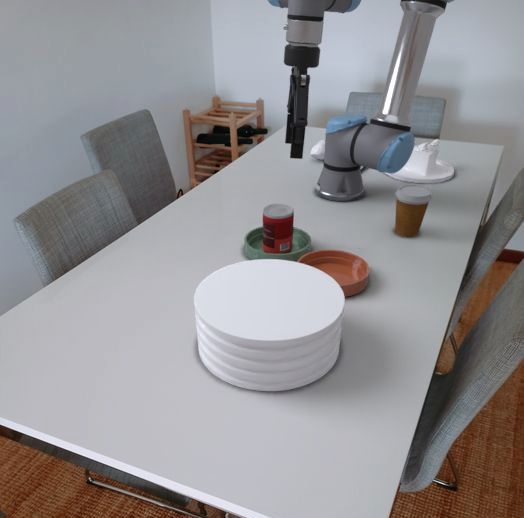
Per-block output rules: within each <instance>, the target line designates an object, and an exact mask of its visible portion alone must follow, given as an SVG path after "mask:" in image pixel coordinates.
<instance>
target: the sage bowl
mask: <svg viewBox="0 0 524 518" xmlns="http://www.w3.org/2000/svg"><path fill="white" fill-rule="evenodd" d="M243 239H244V241H243V242H244V254H245V256H246V257H247V258H248V259H250V260H259V259H278V260H287V261H293V262H297V261H298V259H299V258H300V257H301V256H303V255H305V254H307V253H310V252H312V238H311V236H310V234H309V233H308V232H307V231H305V230H303V229H301V228H300V227H299V228H298V227H296V226H293V243H292V250H291V252H290V253H286V254H272V253H265V252H264V250H263V225H262V226H259V227H255V228H253V229H251V230H249V231H248V232H247V233H246V234H245V235H244V237H243Z"/></svg>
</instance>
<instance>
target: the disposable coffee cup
mask: <svg viewBox="0 0 524 518" xmlns="http://www.w3.org/2000/svg"><path fill="white" fill-rule="evenodd" d="M395 198H396V202H395V203H396V204H395V223H394V224H395V226H394V233H395V234H396V235H398V236H400V237H404V238H414V237H417V236H418V234H419V232H420V229H421V227H422V223H423V221H424V218H425V215H426V212H427V209H428V206H429V203H430V202H431V200H432V198H433V195H432V190H431V189H430V188H428V187H427V186H424V185H420V184H412V183H411V184H403V185H400V186H398V188H397V190H396V191H395Z"/></svg>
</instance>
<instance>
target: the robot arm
mask: <svg viewBox="0 0 524 518" xmlns="http://www.w3.org/2000/svg"><path fill="white" fill-rule="evenodd" d="M454 1H455V0H400V2H399V6H400V9H401V10H402V13H403V14H402V18H401V22H400V25H399V29H398V32H397V33H398V34H397V36H396V37H397V38H396V40H395V45H394V49H393V53H392V55H391V56H392V57H391V60H390V65H389V68H388V72H387V76H386V80H385V83H384V87H383V88H384V89H383V92H382V94H381V99H380V103H379V108H378V111H377V112H376V113H375V114H373V115H372V116H370V120H369V123H367V122H368V117H367V116H366V115H364V114H355V113H353V114H351V113H350V114H342V115H336V116H333V117H331V118H330V119H328V121H327V123H326V129H325V134H324V135H325V139H324V140H325V152H324V159H323V166H322V169H321V172H320V175H319V176H318V177H319V178H318V180H317V182H316V184H315V193H316V195H318V197H320V198H323V199H325V200H329V201H333V202H352V201H356V200H358V199H360V198H362V197H363V196H364V190H365V187H364V182H363V176H362V172H363V171H364V170H365V169H371V170H375V171H378V172H379V173H384V172H386V173H391V174H392V173H396V172H398V171H400V170H401V169H402V168H403V167H404V166H405V164H406V163H407V162H408V160H409V158H410V156H411V154H412V151H413V148H414V146H415V141H416V140H415V135H414V134H413V133H412V132H411V129H412V123H411V122H410V120H409V116H410V113H411V110H412V106H413V103H414V99H415V96H416V93H417V89H418V85H419V82H420V77H421V74H422V71H423V68H424V64H425V60H426V57H427V53H428V51H429V47H430V46H429V45H430V43H431V39H432V35H433V32H434V28H435V25H436V22H437V19H438V18H439V17H441V16H442V15H443V14H445V11H446V8H447V5H448V4H449V3H452V2H454ZM267 2H268V3H269V5H271V6H273V7H277V8H280V9H287V15H286V23H287V24H286V23H285V24H284V25H283V30H284V31H286V32H285V41H286V42H288V43H287V44H285V46H284V51H283V52H284V54H283V64H284V65H285V66H288V67H291V69H290V72H291V74H290V75H289V91H288V97H287V104H286V109H287V113H286V128H285V130H286V131H285V140H284V144H287V145H288V144H290V152H289V159H297V160H298V159H299V160H303V158H304V147H305V137H306V128H307V126H308V124H309V122H308V118H309V117H308V116H309V115H308V114H309V95H310V94H309V92H310V83H311V75H310V74H308V70H309V69H315V68H318V67H319V65H320V58H321V47H319V45H321V44H322V42H323V31H324V24H325V23H324V22H325V21H324V18H325V12H326V13H338V14H346V13H352V12H353V11H354V10H356V9H358V8H359V6H360V5H361V2H362V0H267ZM361 167H362V168H361Z"/></svg>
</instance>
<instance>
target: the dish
mask: <svg viewBox="0 0 524 518" xmlns="http://www.w3.org/2000/svg"><path fill="white" fill-rule="evenodd" d="M439 143H440V140H439V139H438V138H436V139H433V141H432V142H430V143H429V141H427V142H422V143H421V144H418V145H414V148H413V151H412V154H411V156H410V158H409V160H408V162H407V163H406V164H405V166H404V167H403V168H402V169H401V170H400V171H398V172H396V173H392V174H391V173H386V172H383V173H384V174H385V175H386V176H388V177H391V178H392V179H396V180H398V181H401V182H406V183H415V184H436V183H443V182H447V181H449V180H451V179H452V178H453V177H454V175H455V168H454V166H453V165H451V164H450V163H448V162H446V161H443V160H441V159H438V155H439V151H440V146H436V145H438V144H439Z"/></svg>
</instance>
